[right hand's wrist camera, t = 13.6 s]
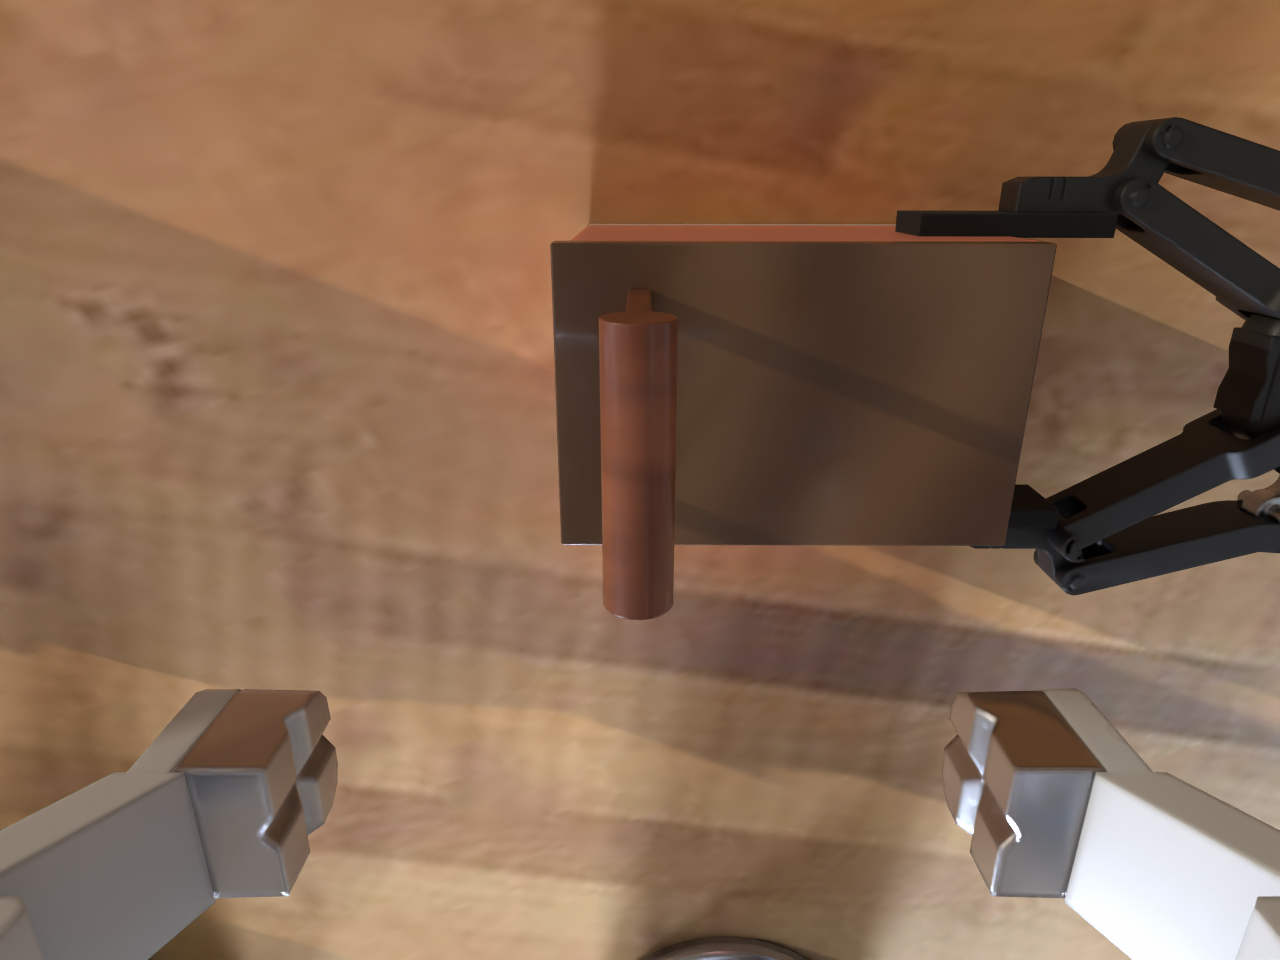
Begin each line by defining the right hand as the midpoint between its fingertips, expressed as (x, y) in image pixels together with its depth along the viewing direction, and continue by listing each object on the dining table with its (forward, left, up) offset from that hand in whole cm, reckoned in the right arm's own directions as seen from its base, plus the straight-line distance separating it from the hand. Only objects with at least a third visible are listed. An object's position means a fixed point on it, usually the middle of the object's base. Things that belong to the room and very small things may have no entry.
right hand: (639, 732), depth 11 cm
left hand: (+5, -8, -21) cm, 23 cm away
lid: (+3, -4, -17) cm, 18 cm away
